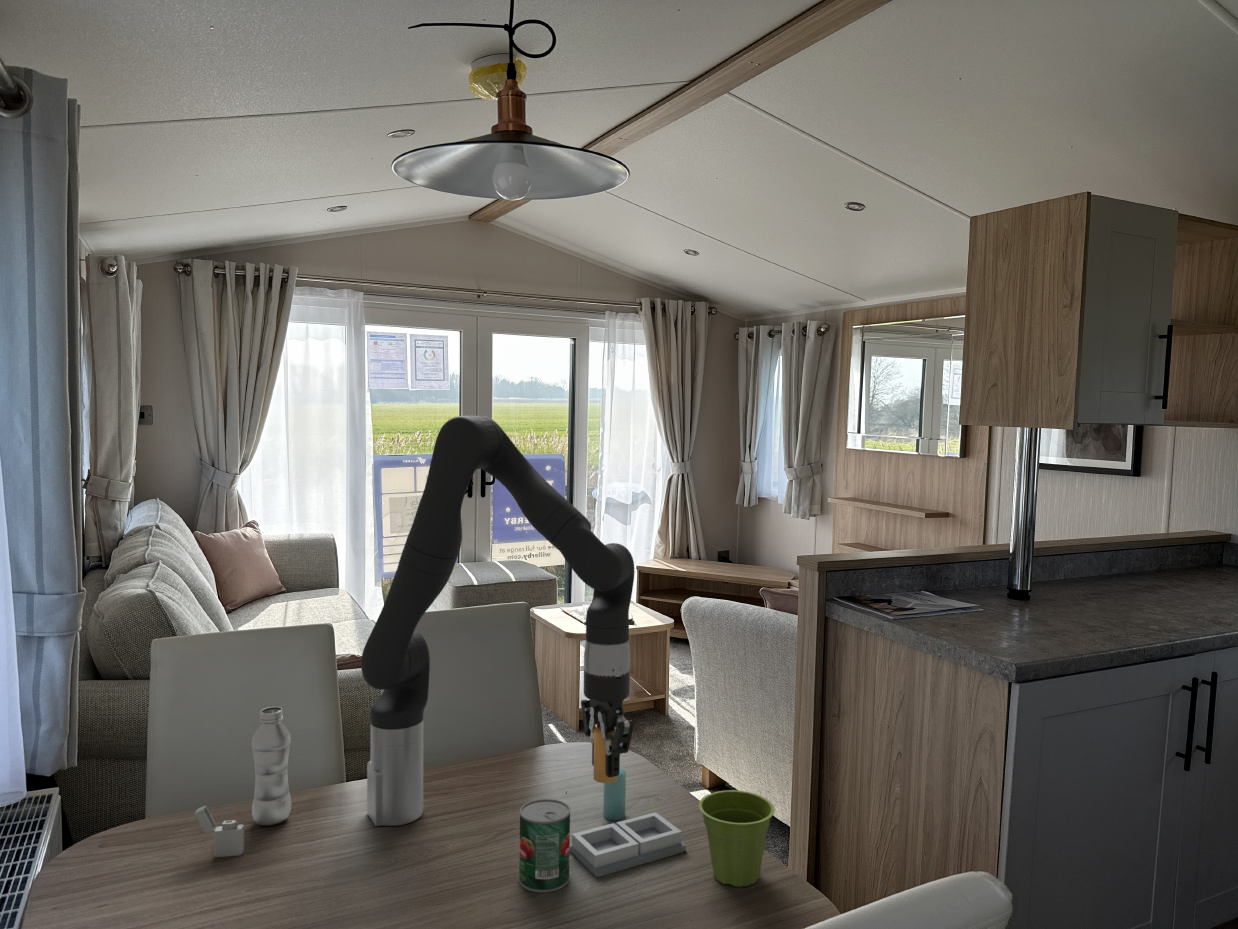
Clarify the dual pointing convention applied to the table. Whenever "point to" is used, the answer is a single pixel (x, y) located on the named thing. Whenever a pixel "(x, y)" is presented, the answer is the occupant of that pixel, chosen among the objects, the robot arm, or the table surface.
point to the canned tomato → (544, 845)
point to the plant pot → (736, 834)
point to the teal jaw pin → (615, 798)
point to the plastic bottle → (271, 768)
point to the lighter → (222, 834)
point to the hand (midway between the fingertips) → (605, 770)
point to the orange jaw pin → (601, 758)
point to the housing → (626, 844)
